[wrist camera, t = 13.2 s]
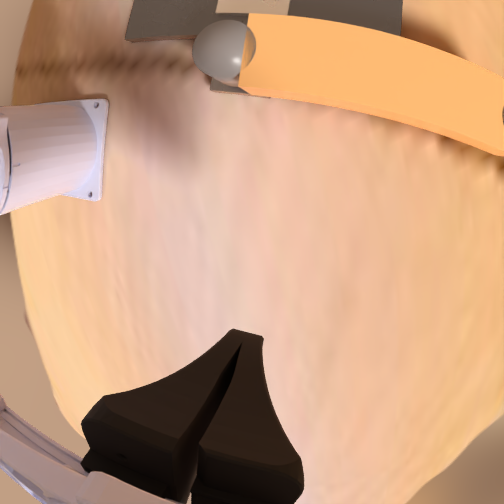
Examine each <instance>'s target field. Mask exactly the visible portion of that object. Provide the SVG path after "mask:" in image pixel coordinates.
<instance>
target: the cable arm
mask: <svg viewBox="0 0 504 504" xmlns="http://www.w3.org/2000/svg"><path fill="white" fill-rule="evenodd" d="M192 55H193V60H194V62H195V64H196V66H197V67H198V68H199V69H200V70H201V71H202V72H203V73H205V74H207V75H209V76H211V77H213V78H214V79H216V80H218V81H220V82H222V83H224V84H226V85H228V86H232V87H240V88H242V89H243V90H245V91H246V92H248V93H249V94H251V95H257V96H267V97H275V98H283V99H291V100H298V101H304V102H311V103H317V104H322V105H328V106H333V107H338V108H343V109H348V110H353V111H358V112H362V113H366V114H371V115H375V116H379V117H383V118H387V119H391V120H394V121H398V122H402V123H405V124H409V125H412V126H415V127H419V128H422V129H425V130H428V131H432V132H435V133H438V134H441V135H444V136H447V137H449V138H452V139H455V140H458V141H461V142H463V143H466V144H469V145H471V146H474V147H476V148H479V149H481V150H484V151H486V152H489V153H491V154H493V155H498V156H504V78H503V77H501V76H499V75H497V74H495V73H493V72H491V71H489V70H487V69H485V68H483V67H481V66H478V65H476V64H474V63H472V62H470V61H467V60H465V59H463V58H460V57H458V56H455V55H453V54H450V53H448V52H445V51H442V50H440V49H437V48H434V47H431V46H429V45H426V44H423V43H420V42H417V41H413V40H410V39H407V38H404V37H400V36H397V35H393V34H389V33H386V32H382V31H378V30H374V29H369V28H365V27H360V26H356V25H351V24H345V23H340V22H334V21H328V20H321V19H314V18H306V17H297V16H287V15H274V14H255V13H249V17H248V23H247V26H246V25H245V24H243V23H241V22H239V21H235V20H221V21H217V22H214V23H212V24H210V25H208V26H207V27H205V28H204V29H203V30H202V31H201V32H200V33H199V34H198V36H197V37H196V39H195V41H194V44H193V49H192Z"/></svg>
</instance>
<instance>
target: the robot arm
mask: <svg viewBox="0 0 504 504" xmlns="http://www.w3.org/2000/svg"><path fill="white" fill-rule="evenodd" d="M98 103H99V106H98V108H97V104H98ZM108 108H109V102H108V100H107V99H85V100H70V101H59V102H49V103H40V104H34V105H20V106H0V215H2V214H5V213H8V212H11V211H13V210H16V209H19V208H22V207H24V206H27V205H30V204H33V203H36V202H39V201H42V200H45V199H48V198H51V197H54V196H57V195H64V196H70V197H75V198H80V199H85V200H90V201H99V200H100V199H101V197H102V178H103V160H104V146H105V135H106V125H107V116H108ZM91 192H92V196H91ZM263 340H264V338H263V337H262V336H260V335H256V334H252V333H248V332H244V331H240V330H236V329H231V330H230V331H229V332H228V333H227V334H226V335H225V336H224V337H223V338H222V339H221V340H220V341H218V342H217V343H216V344H215V345H214V346H213V347H212V348H210V349H209V350H208V351H207V352H205V353H204V354H203V355H202V356H200V357H199V358H197V359H196V360H194V361H193V362H192V363H190V364H189V365H187V366H185V367H184V368H182V369H180V370H179V371H177V372H175V373H173V374H171V375H169V376H167V377H165V378H163V379H161V380H159V381H156V382H154V383H151V384H148V385H146V386H143V387H140V388H136V389H133V390H130V391H126V392H121V393H116V394H111V395H105V396H103V397H102V398H101V399H100V400H99V401H98V402H97V403H96V404H95V405H94V406H93V407H92V409H91V410H90V411H89V412H88V414H87V415H86V416H85V417H84V419H83V420H82V423H81V426H82V430H83V433H84V435H85V438H86V440H87V442H88V444H89V446H90V450H89V451H88V453H87V454H86V455H85V457H84V458H81V457H79V456H77V455H76V454H74V453H73V452H71V451H69V450H68V449H66V448H64V447H63V446H61V445H60V444H58V443H57V442H55V441H54V440H52V439H51V438H49V437H48V436H46V435H45V434H43V433H42V432H40V431H39V430H38V429H36V428H35V427H33V426H32V425H31V424H29V423H28V422H27V421H25V420H24V419H23V418H21V417H20V416H19V415H18V414H16V413H15V412H14V411H12V410H11V409H10V408H9V407H8V406H7V404H6V402H5V400H4V398H3V397H2V395H1V394H0V468H1V469H2V470H3V471H4V472H5V473H6V474H7V475H8V476H10V477H11V478H12V479H13V480H14V481H15V482H16V483H18V484H19V485H20V486H21V487H22V488H24V489H25V490H26V491H27V492H29V493H30V494H31V495H32V496H33V497H35V498H36V499H37V500H39V501H40V502H41V503H43V504H186V503H187V500H188V497H189V495H190V492H191V494H192V495H191V497H192V498H191V504H294V503H295V502H296V500H297V499H298V498H299V497H300V496H301V494H302V492H303V490H304V473H303V466H302V461H301V458H300V456H299V455H298V453H297V452H296V450H295V449H294V447H293V446H292V444H291V443H290V441H289V439H288V437H287V436H286V434H285V432H284V430H283V428H282V426H281V424H280V422H279V419H278V417H277V415H276V413H275V410H274V407H273V405H272V402H271V399H270V395H269V392H268V388H267V384H266V379H265V374H264V367H263V356H262V346H263Z"/></svg>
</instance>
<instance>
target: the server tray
mask: <svg viewBox="0 0 504 504" xmlns="http://www.w3.org/2000/svg"><path fill="white" fill-rule="evenodd" d="M402 4H403V0H134V4H133V8H132V11H131V15H130V19H129V23H128V27H127V32H126V36H125V40H127V41H129V42H132V43H133V42H144V41H157V40H177V39H196V37H197V36H198V34H199V33H200V32H201V31H202V30H203V29H204V28H205V27H207V26H208V25H210V24H212V23H214V22H217V21H221V20H235V21H239V22H241V23H243V24H245V25H246V26H247V23H248V17H249V13H255V14H274V15H287V16H297V17H306V18H314V19H321V20H328V21H334V22H340V23H345V24H351V25H356V26H360V27H365V28H369V29H374V30H378V31H382V32H386V33H389V34H393V35H397V36H400V34H401V21H402ZM210 90H211V91H213V92H218V93H229V94H239V95H248V96H256V97H263V98H271V97H267V96H257V95H251V94H249V93H248V92H246V91H245V90H243V89H242V88H240V87H232V86H228V85H226V84H224V83H222V82H220V81H218V80H216V79H214V78H213V77H212V80H211V86H210Z"/></svg>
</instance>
